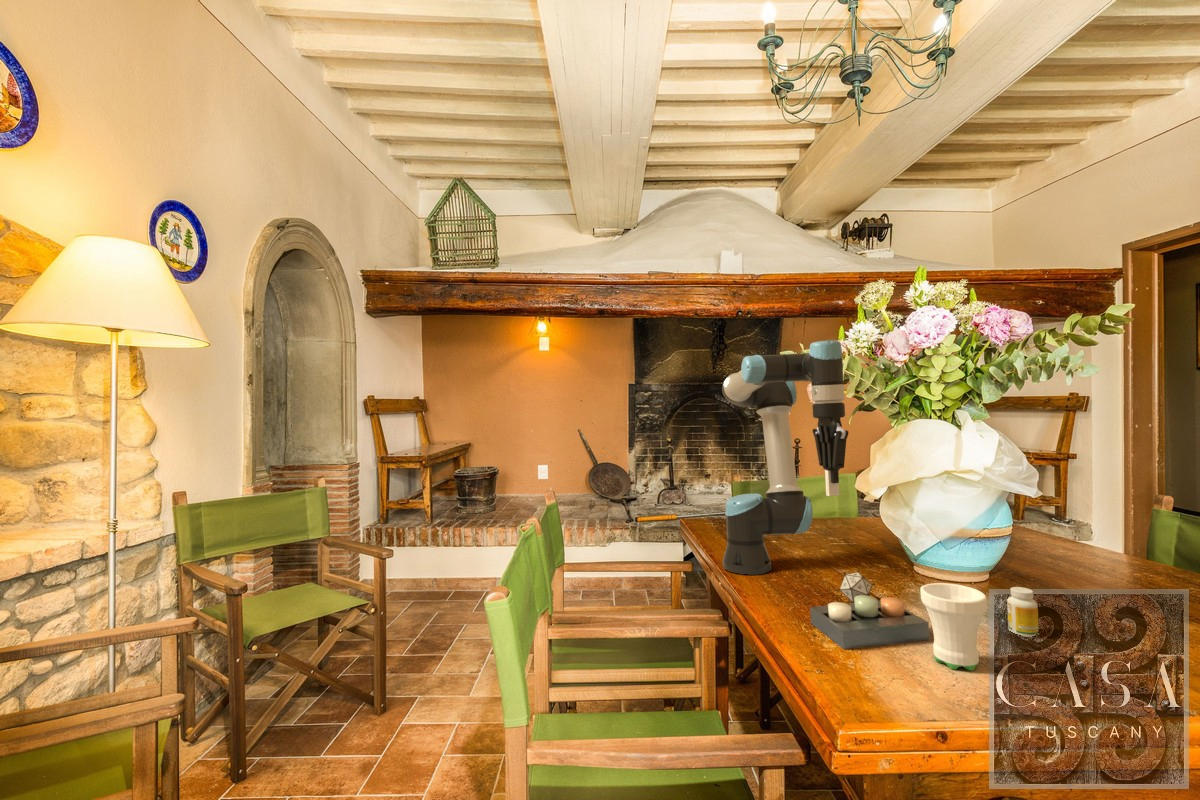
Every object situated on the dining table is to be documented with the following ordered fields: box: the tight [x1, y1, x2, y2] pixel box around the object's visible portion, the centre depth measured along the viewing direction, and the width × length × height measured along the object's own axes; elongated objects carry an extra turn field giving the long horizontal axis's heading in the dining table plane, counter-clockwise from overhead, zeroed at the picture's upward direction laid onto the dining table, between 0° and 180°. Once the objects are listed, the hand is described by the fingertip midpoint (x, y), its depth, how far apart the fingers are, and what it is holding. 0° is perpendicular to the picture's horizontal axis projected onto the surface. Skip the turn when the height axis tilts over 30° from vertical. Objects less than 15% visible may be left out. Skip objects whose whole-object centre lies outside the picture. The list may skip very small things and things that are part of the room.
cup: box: [920, 582, 988, 672], centre depth 109 cm, size 11×11×14 cm
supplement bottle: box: [1006, 586, 1040, 638], centre depth 121 cm, size 5×5×10 cm
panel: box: [809, 599, 930, 650], centre depth 125 cm, size 14×20×4 cm
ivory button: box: [827, 601, 852, 623], centre depth 124 cm, size 5×5×3 cm
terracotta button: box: [880, 596, 906, 617], centre depth 126 cm, size 5×5×3 cm
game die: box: [836, 569, 876, 603], centre depth 143 cm, size 9×8×10 cm
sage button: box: [854, 595, 879, 617], centre depth 125 cm, size 5×5×3 cm
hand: (832, 495), depth 137 cm, fingers closed
